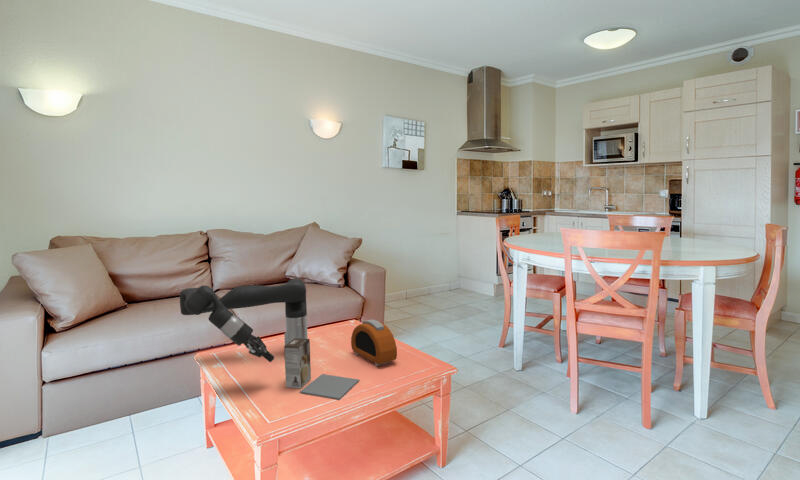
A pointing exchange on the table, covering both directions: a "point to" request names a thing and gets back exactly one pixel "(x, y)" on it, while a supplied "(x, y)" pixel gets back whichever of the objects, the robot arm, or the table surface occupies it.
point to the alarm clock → (374, 342)
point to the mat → (330, 386)
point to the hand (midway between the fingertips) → (272, 359)
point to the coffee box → (297, 363)
